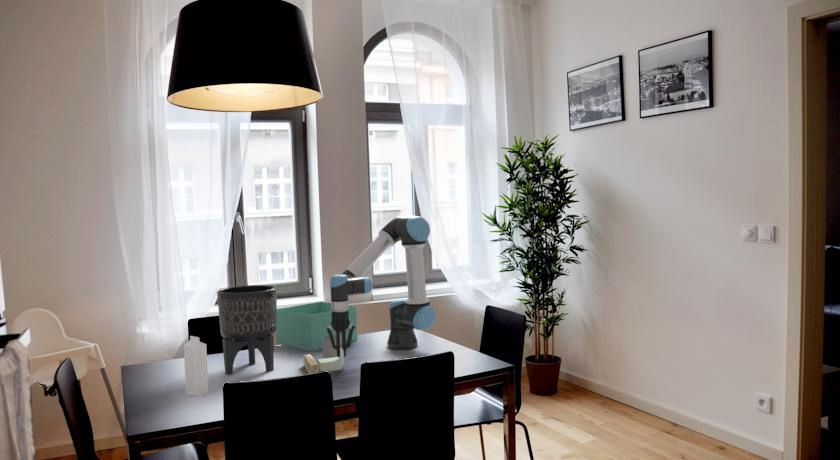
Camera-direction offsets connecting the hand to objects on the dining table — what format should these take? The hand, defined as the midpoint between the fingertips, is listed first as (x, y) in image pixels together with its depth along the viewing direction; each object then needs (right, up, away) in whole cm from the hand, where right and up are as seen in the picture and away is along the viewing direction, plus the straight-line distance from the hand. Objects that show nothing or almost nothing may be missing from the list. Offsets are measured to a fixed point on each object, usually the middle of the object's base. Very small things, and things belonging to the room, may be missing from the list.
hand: (341, 364), depth 267 cm
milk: (-52, -5, -31) cm, 61 cm away
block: (-5, -2, -1) cm, 6 cm away
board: (-13, -2, -4) cm, 13 cm away
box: (-20, 0, +53) cm, 56 cm away
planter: (-40, -3, +1) cm, 40 cm away
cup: (-7, -1, +17) cm, 18 cm away
